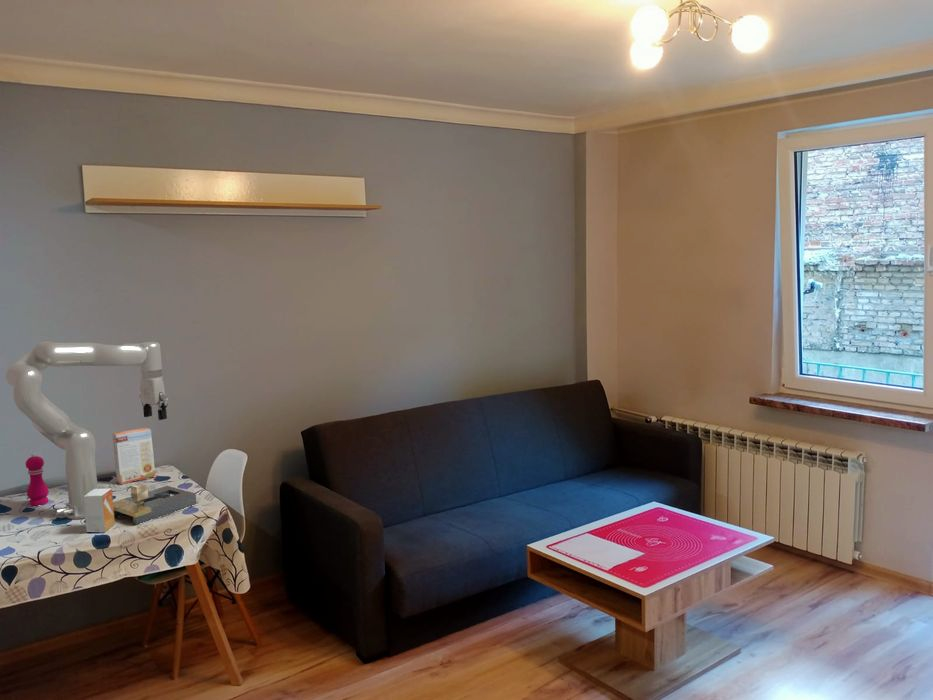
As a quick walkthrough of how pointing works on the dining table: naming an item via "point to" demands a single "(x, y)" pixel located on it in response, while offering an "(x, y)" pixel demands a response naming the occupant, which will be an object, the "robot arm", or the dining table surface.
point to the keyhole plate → (155, 504)
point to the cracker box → (133, 455)
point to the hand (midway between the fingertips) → (155, 417)
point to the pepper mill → (36, 481)
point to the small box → (99, 510)
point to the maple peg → (139, 492)
